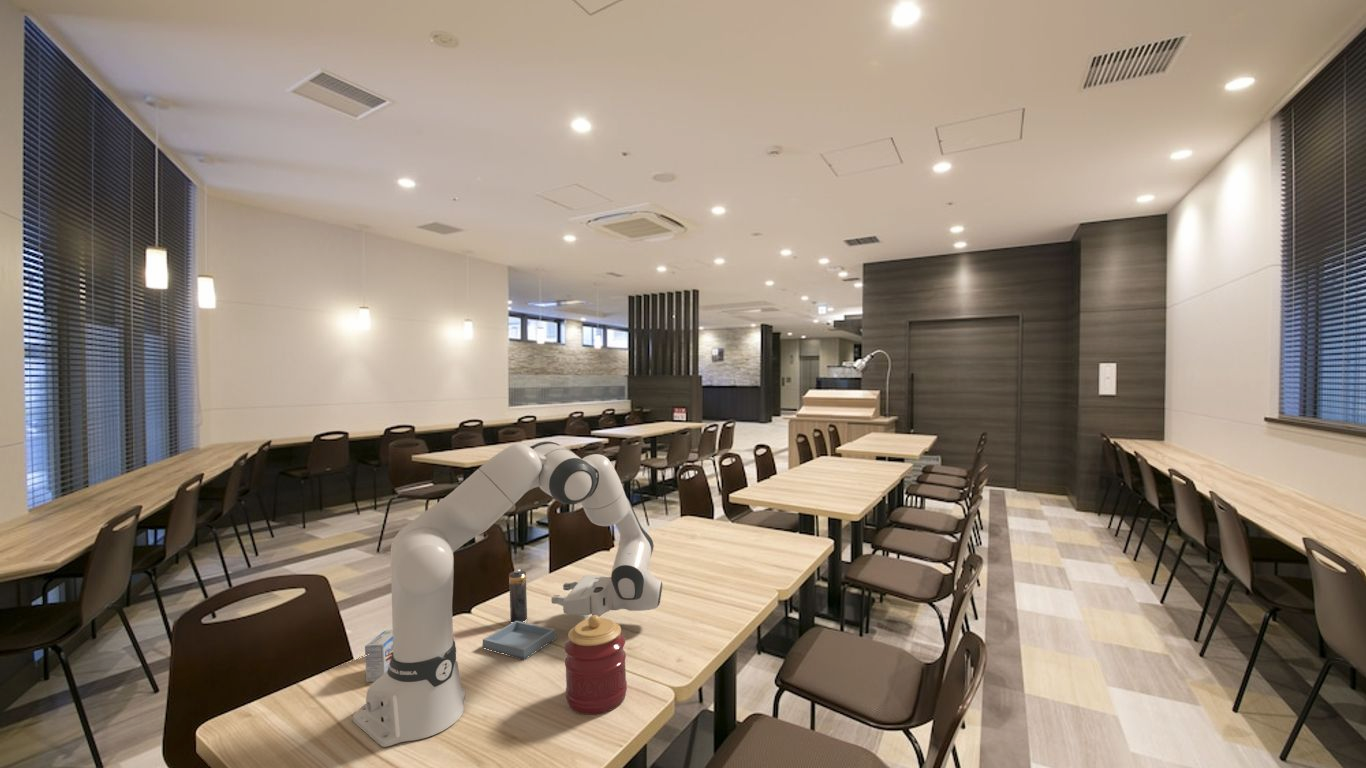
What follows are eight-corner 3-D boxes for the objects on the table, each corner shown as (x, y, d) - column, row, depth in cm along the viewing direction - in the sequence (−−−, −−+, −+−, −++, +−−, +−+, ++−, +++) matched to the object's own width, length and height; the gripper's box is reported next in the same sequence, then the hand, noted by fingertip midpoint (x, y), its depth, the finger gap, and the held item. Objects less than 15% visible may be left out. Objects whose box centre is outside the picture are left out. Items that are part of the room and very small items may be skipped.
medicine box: (384, 682, 123) (383, 645, 123) (365, 682, 123) (364, 645, 123) (402, 664, 131) (401, 629, 131) (384, 665, 131) (383, 629, 131)
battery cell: (507, 623, 152) (505, 571, 152) (518, 617, 156) (517, 566, 156) (519, 626, 150) (517, 573, 150) (530, 619, 154) (529, 568, 154)
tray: (483, 649, 137) (482, 639, 137) (516, 629, 148) (516, 620, 148) (524, 660, 131) (523, 649, 131) (556, 638, 142) (555, 629, 142)
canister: (591, 675, 123) (589, 599, 123) (638, 689, 117) (636, 609, 117) (553, 706, 111) (550, 622, 112) (602, 723, 105) (599, 634, 105)
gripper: (614, 569, 160) (569, 569, 162) (595, 596, 140) (544, 595, 141) (614, 590, 160) (570, 589, 162) (596, 620, 140) (545, 619, 141)
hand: (558, 592), depth 151 cm, fingers open, 8 cm apart
